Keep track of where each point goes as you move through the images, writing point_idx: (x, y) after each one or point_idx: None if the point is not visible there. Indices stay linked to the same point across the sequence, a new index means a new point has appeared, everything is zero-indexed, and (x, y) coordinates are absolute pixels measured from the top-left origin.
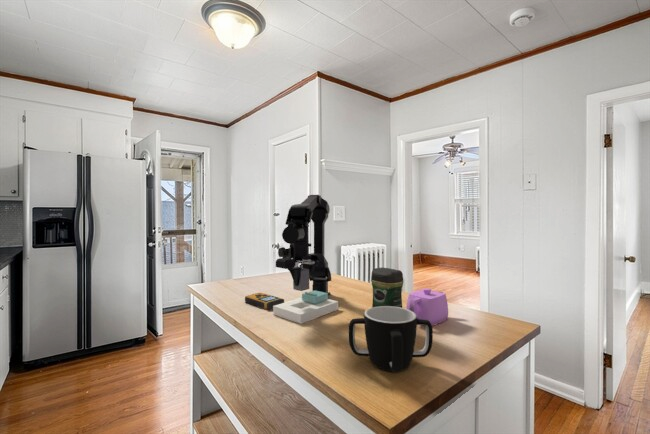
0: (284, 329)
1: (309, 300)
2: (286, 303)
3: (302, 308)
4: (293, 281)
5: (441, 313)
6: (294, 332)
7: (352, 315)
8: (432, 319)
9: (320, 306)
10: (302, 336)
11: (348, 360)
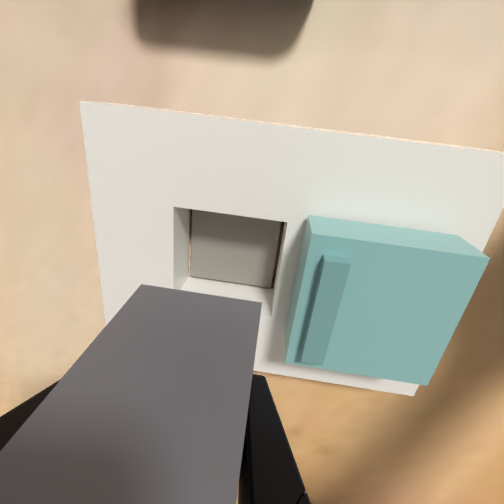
0: (42, 299)
1: (295, 292)
2: (190, 148)
3: None
4: (93, 344)
5: None
6: (57, 344)
7: (345, 429)
8: None
9: (273, 362)
10: (58, 379)
11: None
